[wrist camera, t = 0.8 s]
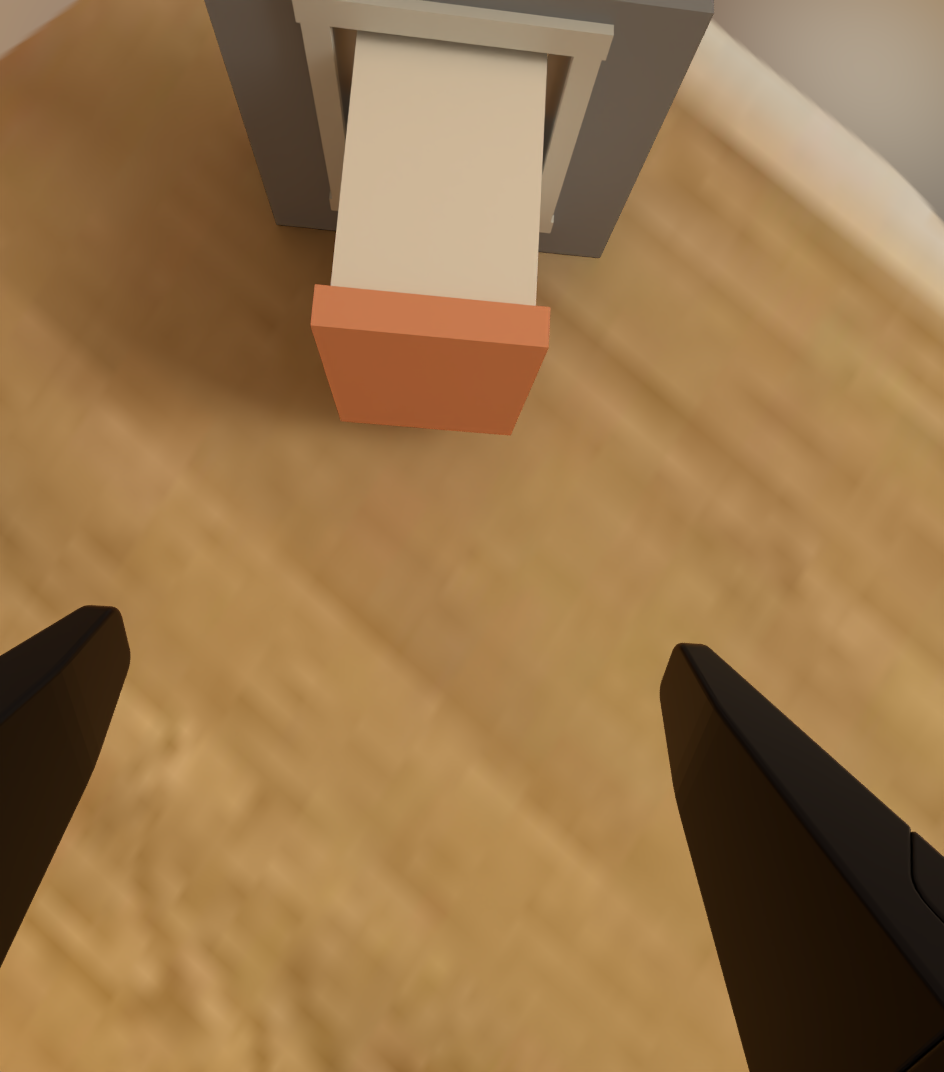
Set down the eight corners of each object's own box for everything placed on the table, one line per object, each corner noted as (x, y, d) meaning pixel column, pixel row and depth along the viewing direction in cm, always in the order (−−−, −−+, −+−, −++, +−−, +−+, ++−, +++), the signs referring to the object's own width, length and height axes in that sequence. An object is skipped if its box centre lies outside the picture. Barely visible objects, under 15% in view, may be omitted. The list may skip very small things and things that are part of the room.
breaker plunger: (510, 435, 22) (548, 347, 16) (340, 420, 22) (310, 325, 15) (524, 159, 24) (564, -19, 17) (368, 141, 23) (350, -48, 17)
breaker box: (599, 265, 26) (713, 24, 16) (275, 231, 25) (184, -44, 15) (602, 163, 26) (713, -127, 17) (287, 127, 26) (209, -200, 16)
